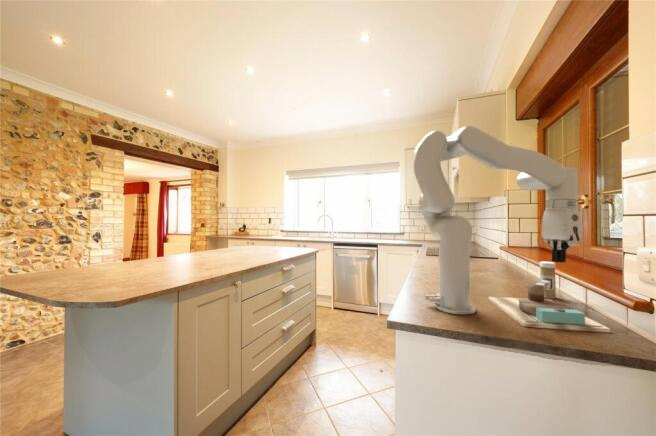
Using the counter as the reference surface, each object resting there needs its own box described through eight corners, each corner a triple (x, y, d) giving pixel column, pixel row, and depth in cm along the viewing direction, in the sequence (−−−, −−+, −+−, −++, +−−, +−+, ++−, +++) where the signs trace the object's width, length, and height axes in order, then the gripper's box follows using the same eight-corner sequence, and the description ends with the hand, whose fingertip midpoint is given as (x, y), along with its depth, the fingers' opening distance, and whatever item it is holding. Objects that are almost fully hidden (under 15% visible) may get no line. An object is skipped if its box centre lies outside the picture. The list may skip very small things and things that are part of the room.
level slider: (542, 321, 72) (542, 310, 72) (536, 317, 75) (536, 306, 75) (584, 324, 70) (584, 312, 70) (576, 320, 73) (576, 309, 73)
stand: (523, 326, 72) (523, 322, 72) (488, 299, 96) (488, 296, 96) (610, 332, 68) (610, 328, 68) (550, 302, 92) (550, 299, 92)
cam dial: (597, 321, 71) (597, 295, 71) (531, 316, 75) (531, 292, 75) (549, 297, 92) (549, 278, 93) (500, 295, 96) (499, 276, 96)
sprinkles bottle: (557, 297, 98) (557, 262, 98) (553, 299, 95) (553, 263, 95) (542, 294, 101) (542, 260, 101) (538, 296, 99) (537, 261, 99)
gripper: (596, 205, 77) (594, 266, 77) (550, 207, 92) (548, 258, 92) (572, 204, 76) (570, 265, 76) (530, 206, 91) (528, 257, 91)
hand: (558, 261), depth 84 cm, fingers closed
